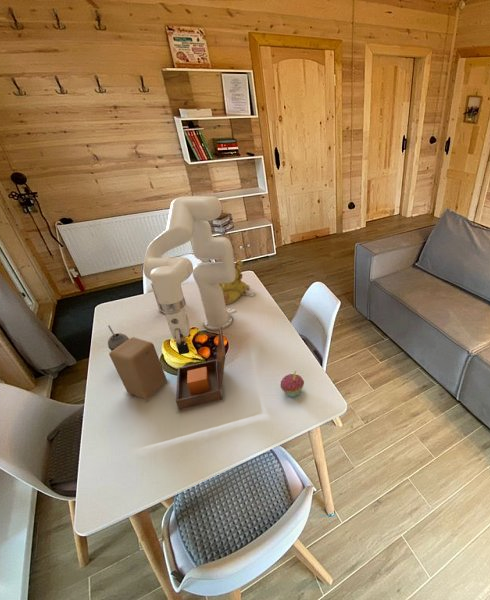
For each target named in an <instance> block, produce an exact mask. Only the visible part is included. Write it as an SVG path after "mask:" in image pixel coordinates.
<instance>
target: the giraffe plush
mask: <svg viewBox="0 0 490 600" xmlns="http://www.w3.org/2000/svg"><path fill="white" fill-rule="evenodd" d="M234 265H235V273H236V276H235V280H234V281H233V282H232V283H221V284H219V285H220V287H221V288H222V291H223V296H224V300H225V305H229V304H232V303H234V302H236V301H237V300H238V299H239V298H240V297H241V295H243V296H249V297H254V295H255V293H249V292H245V291H246V290H249V288H250V285H249V284H247V283H246V282H245V281H243V280H242V279H243V273H242V268H241V267H242V266H243V265H244V264H243V261H242V260H241V259H237V260H236V262H234Z"/></svg>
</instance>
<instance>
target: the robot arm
mask: <svg viewBox="0 0 490 600" xmlns="http://www.w3.org/2000/svg"><path fill="white" fill-rule="evenodd" d="M169 206H170V207H169V211H168V216H167V221H166V227H165V230H164V231H163V232H161V233H159V234H158V236H156V237H155V238H154V239H153V240H152V241H151V242H150V243H149V245H148V246H147V248H146V249H145V254H144V259H143V266H142V267H143V268H142V271H143V274H144V276H145V278H147V279H148V280H150V281H151V283H152V284H153V287H154V290H155V293H156V296H157V300H158V303H159V306H160V309H161V311H162V312H161V313H163V314H165V317H166V320H167V325H168V327H169V330H170V334H171V336H172V338H173V339H174V340H175V344H176V349H177V352H178V355H180V356H181V355H186V354H189V353H190V348H189V345H188V342H187V341H186V338H188V337H190V336H191V333H190V332H191V331H190V329H191V322H190V318H189V316H188V313H187V312H188V311H187V309H186V307H187V303H186V299H185V296H184V295H185V294H184V292H183V288H182V285H181V284H182V283H184V282H185V281H187V280H188V279H189V278H190V277H191V275H192V277H193V279H194V281H195V283H196V285H197V287H198V291H199V294H200V298H201V299H200V300H201V302H202V306H203V310H204V314H205V319H204V321H203V325H204V327H205V328H206V329H207V330H210V331H220V327H222V329H225V328H227V327H228V326H230V325H231V324H232V321H233V317H232V315H234V314H236V313H237V312H238V310H237V309H236V308H233V309H232V308H228V309H227V304H225V300H224V296H223V291H222V288H221V287H220V285H219V284H221V283H232V282H233V281H234V280H235V276H236V273H235V265H234V263H235V258H234V250H233V246H232V242H231V241H230V239H229V238H228V237H224V236H219V237H218V236H215V237H214V236H213V233H212V226H211V224H210V221H211V222H212V221H215V220H216V219H219V218H220V216H221V214H222V212H223V211H222V203H221V201H220V199H219V198H218V197H217V196H215V195H213V196H211V195H208V196H207V195H200V196H196V195H191V196H190V195H189V196H188V195H186V196H179V197H176V198H174V199H173V200H172V201H171V203H170V205H169ZM188 242H190V243H191V248H192V252H193V256H194V257H195V258H196V259H197V260H202V261H206V262H199V263H197V264H195V265H193V262H192V261H191V260H190V259H189V258H188V257H183V256H176V257H175V256H174V257H171V256H169V257H162V256H163V255H164V254H166V253H168V252H169V251H171V250H173V249H175V248H177V247H180V246H183V245H185V244H187V243H188ZM210 260H211V261H210ZM212 260H220V261H212ZM207 261H209V262H207Z"/></svg>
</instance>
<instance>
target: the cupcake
mask: <svg viewBox="0 0 490 600" xmlns="http://www.w3.org/2000/svg"><path fill="white" fill-rule="evenodd" d="M279 385H280V388H281V390H282V391H283V392H284V393H285V394H286V395H287V396H289V397H296V396H298V395H299V394H300V393H301V392H300V391H301V390H302V389H303V387H304V385H305V381H304V379H303V377H302V376H301V375H299V374H297V370H294V371H293V373H289V374H288V375H285V376H284V377H283V378H282V379H281V381H280V384H279Z"/></svg>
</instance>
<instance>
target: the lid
mask: <svg viewBox="0 0 490 600" xmlns="http://www.w3.org/2000/svg"><path fill="white" fill-rule="evenodd" d="M223 329H224V328H223ZM223 329H222V327H220V329H219V330H218V332H219V333H218V341H217V347H216V349H217V350H216V357H215V360H216V361H217V374H218V387H219V390H221V389H222V385H223V379H224V371H225V364H226V349H225V348H226V347H225V339H224V333H223V332H224V330H223Z"/></svg>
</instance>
